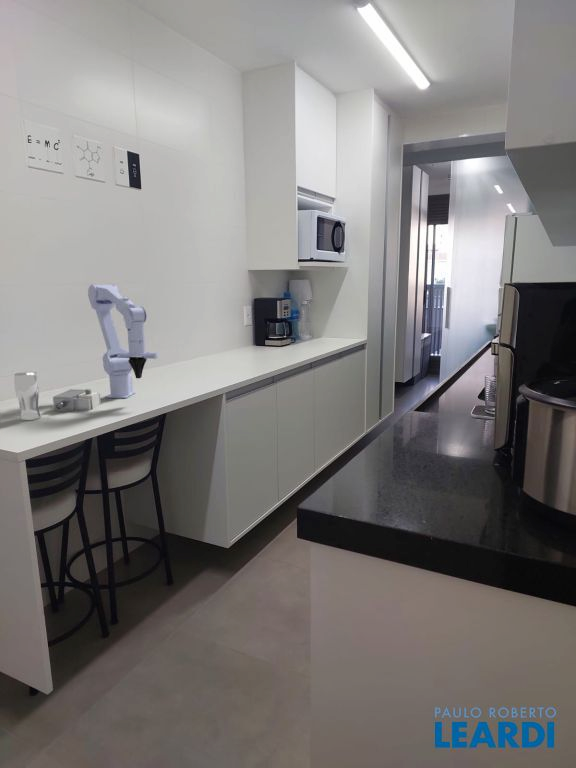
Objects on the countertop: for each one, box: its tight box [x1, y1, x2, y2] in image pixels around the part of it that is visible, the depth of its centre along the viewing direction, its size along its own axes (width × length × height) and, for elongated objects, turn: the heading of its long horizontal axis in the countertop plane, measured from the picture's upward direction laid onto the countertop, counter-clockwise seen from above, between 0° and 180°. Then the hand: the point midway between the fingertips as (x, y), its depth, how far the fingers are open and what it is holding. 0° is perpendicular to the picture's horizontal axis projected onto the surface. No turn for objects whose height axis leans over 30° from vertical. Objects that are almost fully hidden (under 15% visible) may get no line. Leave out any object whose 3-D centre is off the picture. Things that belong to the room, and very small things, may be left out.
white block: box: [78, 388, 100, 410], centre depth 180 cm, size 5×5×6 cm
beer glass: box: [13, 371, 41, 422], centre depth 165 cm, size 7×7×15 cm
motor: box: [52, 388, 102, 412], centre depth 179 cm, size 15×12×5 cm
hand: (138, 377), depth 185 cm, fingers closed
